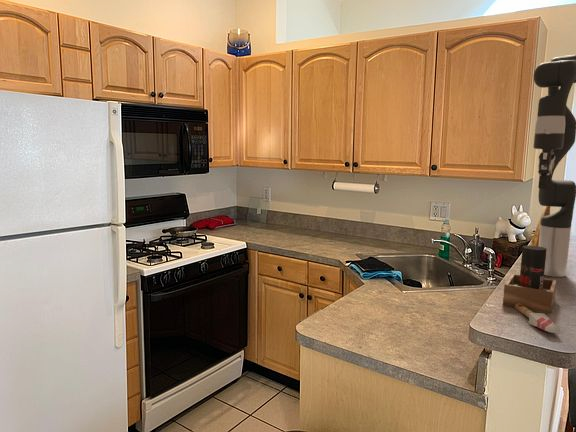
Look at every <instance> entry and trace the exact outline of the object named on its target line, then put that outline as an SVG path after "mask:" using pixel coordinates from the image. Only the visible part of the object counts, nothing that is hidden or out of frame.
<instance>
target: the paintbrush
mask: <svg viewBox="0 0 576 432" xmlns="http://www.w3.org/2000/svg"><path fill="white" fill-rule="evenodd" d="M515 309H516V310H517V311H519V312H520V313H521V314H523V315H525V316H526V317H527V318H529V319H528V324H529V325H531V326H534V327H537V328H538V329H540V330H543V331H545V332H548V333H556V334H563V332H562V331H561V329H560V328H558V326H557V325H556V324H555V323H554V322H553V321H552V320H551V318H549V316H547V314H546V313H541V312H535V311H531V310H529V309H528V308H526V307H525V306H523V305H522V304H520V303H517V304H516V305H515Z"/></svg>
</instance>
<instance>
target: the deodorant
mask: <svg viewBox="0 0 576 432" xmlns="http://www.w3.org/2000/svg"><path fill="white" fill-rule="evenodd" d="M521 249H522V251H521V261H520V262H521V263H520V272H519V275H520V280H519V286H521V287H527V288H533V289H539V290H543V281H544V279H545V275H544V271H545V261H546V251H547V249H546V248H544V247H539V246H531V245H523V246H522V248H521Z"/></svg>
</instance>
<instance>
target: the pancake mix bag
mask: <svg viewBox="0 0 576 432" xmlns="http://www.w3.org/2000/svg"><path fill="white" fill-rule="evenodd" d="M542 209H543V210H542V211H541V215H540V216H539V219H538V222H537V225H536V227H535V231H534V233H533V235H532V239H531V243H530V246H539V236H540V225H541V218H542V217H544V216H547V215H551V206H543V208H542Z"/></svg>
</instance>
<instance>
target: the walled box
mask: <svg viewBox="0 0 576 432" xmlns="http://www.w3.org/2000/svg"><path fill="white" fill-rule="evenodd" d="M519 280H520V274H518V273H517V274H516V273H511V275H510V276H509V277H508V278H507V280H506V282H505V283H504V286H503V287H504V288H503V297H502V298H503V299H502V306H506V307H510V308H515V305H516V304H517V303H520V304H522V305H523V306H525V307H526V308H528V309H529V310H531V311H532V312H535V313H544V314H545V315H551V314H552V310H553V307H554V304H555V298H556V290H557V289H556V288H557V280H556V279H549V278H544V281H543V290H539V289H533V288H527V287H521V286H519ZM515 309H516V308H515Z"/></svg>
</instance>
